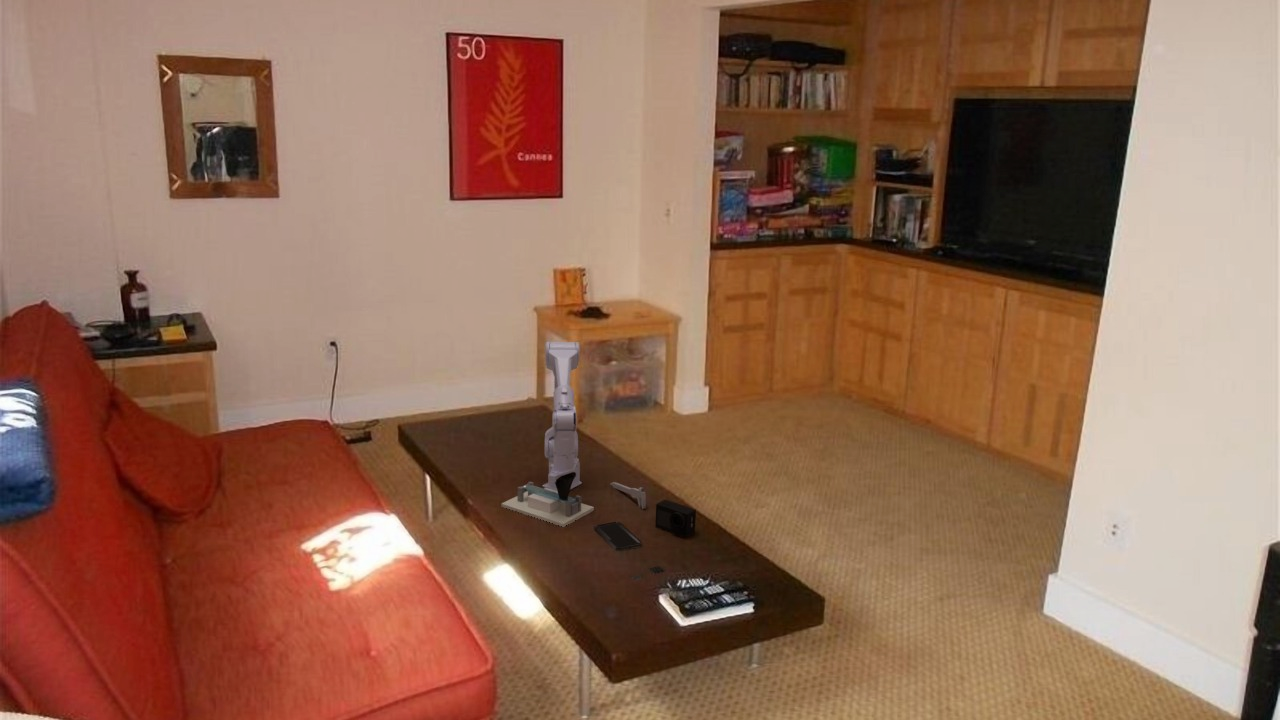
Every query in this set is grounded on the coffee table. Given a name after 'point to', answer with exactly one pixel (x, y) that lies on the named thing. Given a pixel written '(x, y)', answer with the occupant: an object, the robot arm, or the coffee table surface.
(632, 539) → the phone
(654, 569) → the circuit board
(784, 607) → the coffee table surface
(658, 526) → the digital camera
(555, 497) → the retention strap
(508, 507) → the socket board
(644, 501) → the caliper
